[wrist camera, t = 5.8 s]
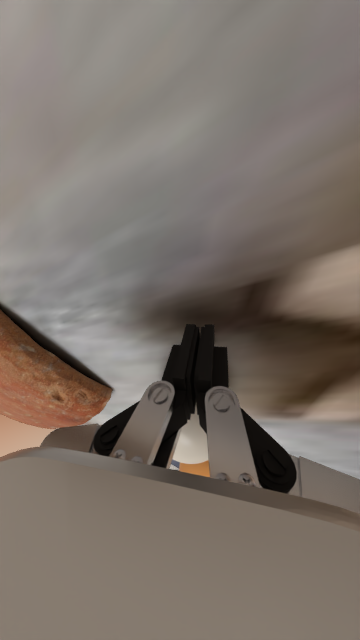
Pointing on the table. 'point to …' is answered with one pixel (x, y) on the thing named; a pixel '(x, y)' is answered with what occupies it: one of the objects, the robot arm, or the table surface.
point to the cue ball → (192, 443)
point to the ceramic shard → (43, 384)
